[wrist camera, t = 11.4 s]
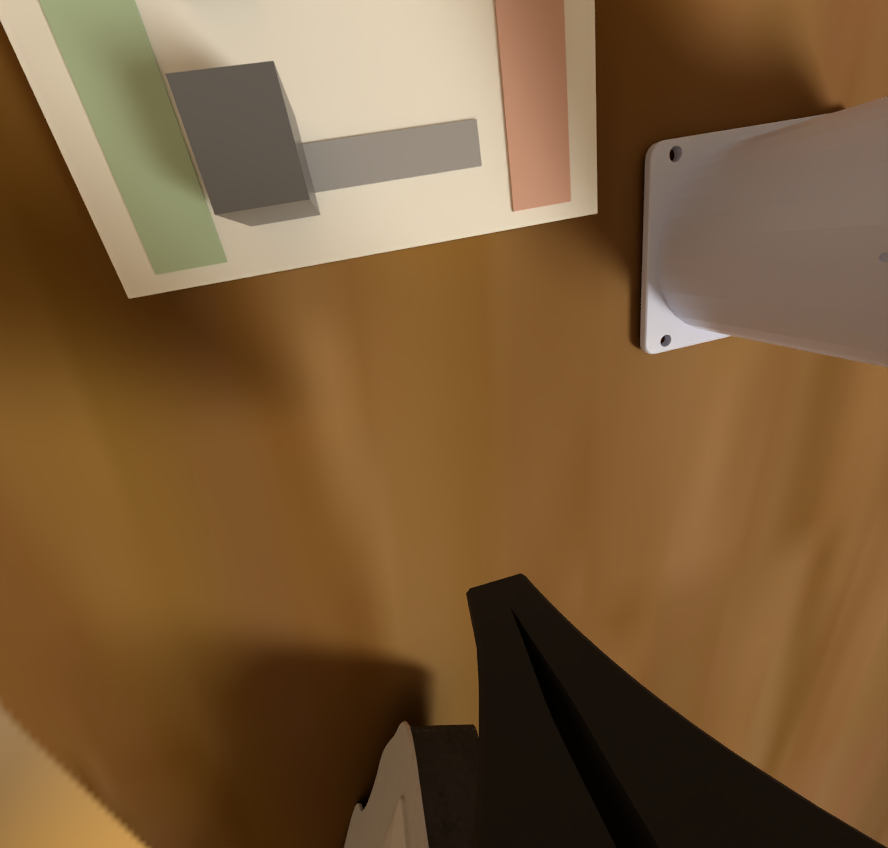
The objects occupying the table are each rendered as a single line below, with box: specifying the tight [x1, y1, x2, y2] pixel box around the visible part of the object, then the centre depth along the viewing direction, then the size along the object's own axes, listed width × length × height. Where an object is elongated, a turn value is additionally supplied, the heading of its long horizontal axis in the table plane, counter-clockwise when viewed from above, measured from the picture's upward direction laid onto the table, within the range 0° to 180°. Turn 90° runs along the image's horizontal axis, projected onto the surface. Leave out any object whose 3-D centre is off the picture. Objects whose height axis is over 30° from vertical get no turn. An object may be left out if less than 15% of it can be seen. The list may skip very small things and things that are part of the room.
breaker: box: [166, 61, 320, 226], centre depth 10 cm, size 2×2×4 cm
